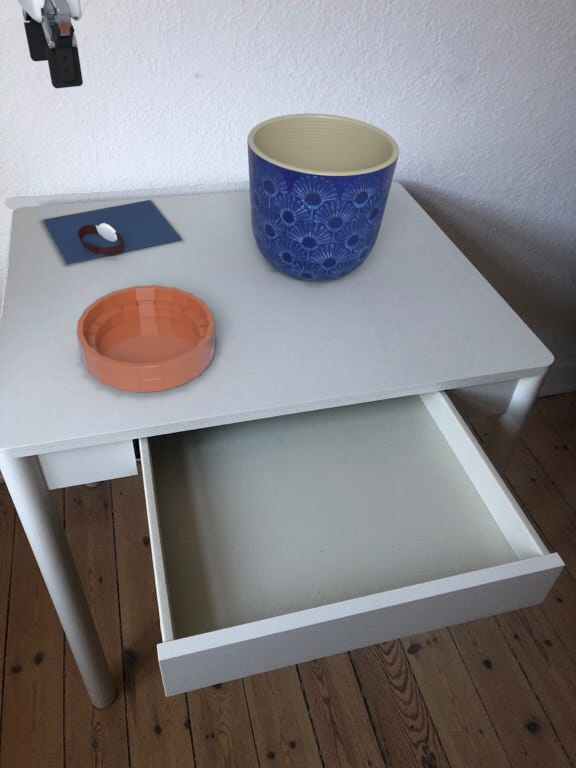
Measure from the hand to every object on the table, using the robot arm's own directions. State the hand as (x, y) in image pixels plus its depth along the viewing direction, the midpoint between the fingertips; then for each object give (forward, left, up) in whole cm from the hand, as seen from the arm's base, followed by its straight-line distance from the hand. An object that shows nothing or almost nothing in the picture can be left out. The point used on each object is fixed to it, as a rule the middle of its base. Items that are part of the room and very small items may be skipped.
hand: (56, 72), depth 72 cm
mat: (+7, +13, -28) cm, 32 cm away
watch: (+4, +8, -28) cm, 29 cm away
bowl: (+2, -18, -28) cm, 34 cm away
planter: (+32, -8, -28) cm, 44 cm away
